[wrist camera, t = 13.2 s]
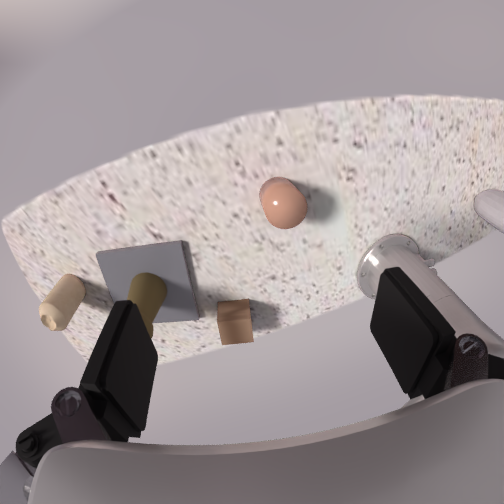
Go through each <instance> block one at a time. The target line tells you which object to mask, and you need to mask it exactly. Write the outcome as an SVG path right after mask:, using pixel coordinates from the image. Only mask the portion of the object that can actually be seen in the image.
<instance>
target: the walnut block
mask: <svg viewBox="0 0 504 504" xmlns="http://www.w3.org/2000/svg"><path fill="white" fill-rule="evenodd" d="M217 323H218V328H219V333H220V337H221V342H222V345H228V344H239V343H248V342H254V341H253V332H252V323H251V314H250V306H249V299H242V300H232V301H223V302H218V312H217Z"/></svg>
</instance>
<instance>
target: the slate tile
mask: <svg viewBox="0 0 504 504" xmlns="http://www.w3.org/2000/svg"><path fill="white" fill-rule="evenodd" d="M96 257H97V260H98V263H99V266H100V269H101V271H102V274H103V277H104V279H105V282H106V285H107V287H108V290H109V292H110V295H111V297H112V300H113V302H114V304H115V302H116V301H121V300H127V297H128V293H129V289H130V285H131V281H132V279H133V278H134V277H135V276H136V275H137V274H140V273H146V272H148V273H152V274H155V275H157V276H158V277H160V278H161V279H162V280H163V281H164V283H165V284H166V287H167V296H166V298H165V300H164V302H163V304H162V305H161V307H160V309H159V311H158V313H157V315H156V317H155V319H154V321H153V323H163V322H178V321H191V320H199V312H198V308H197V304H196V300H195V296H194V292H193V288H192V284H191V280H190V276H189V271H188V267H187V262H186V258H185V253H184V249H183V244H182V240H181V241H173V242H165V243H157V244H150V245H142V246H135V247H127V248H120V249H113V250H106V251H99V252H97V253H96Z"/></svg>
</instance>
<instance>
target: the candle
mask: <svg viewBox="0 0 504 504" xmlns="http://www.w3.org/2000/svg"><path fill="white" fill-rule="evenodd" d="M85 293H86V290H85V287H84V284H83V283H82V281H81V280H80V279H79V278H77V277H76V276H74V275H71V274H66V275H64V276H63V277H62V278H61V279H60V280H59V281H58V282H57V284H56V285H55V286H54V288H53V289H52V290H51V291H50V293H49V294H48V295H47V297H46V298H45V299H44V301H43V302H42V303H41V305H40V307H39V313H40V317H41V321H42V323H43V324H44V325H45V326H46V327H48V328H49V329H50V330H51V331H62V330H64V329H65V328H66V327H67V325H68V323H69V322H70V320H71V318H72V317H73V315H74V313H75V312H76V310H77V308H78V307H79V305H80V303H81V302H82V300H83V298H84V297H85Z"/></svg>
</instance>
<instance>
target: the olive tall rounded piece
mask: <svg viewBox="0 0 504 504" xmlns="http://www.w3.org/2000/svg"><path fill="white" fill-rule="evenodd" d="M166 296H167V287H166V284H165V283H164V281H163V280H162V279H161V278H160V277H158V276H157V275H155V274H152V273H148V272H146V273H140V274H137V275H136V276H135V277H134V278H133V279H132V281H131V285H130V289H129V293H128V297H127V300H131V301H132V302H133V303H135V304H137V306H138V309H139V311H140V314H141V316H142V319H143V321H144V323H145V326H146V328H147V331H148V333H149V335H150V338H152V336H153V324H152V323H153V321H154V319H155V317H156V315H157V313H158V311H159V309H160V307H161V305H162V304H163V302H164V300H165V298H166Z"/></svg>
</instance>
